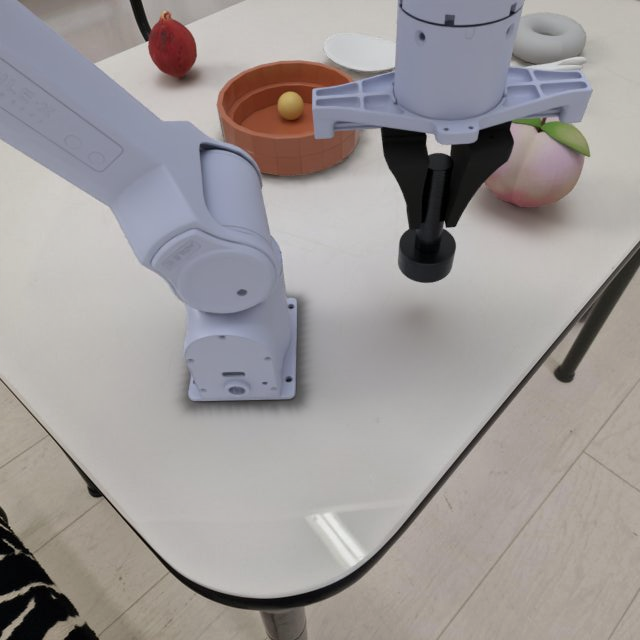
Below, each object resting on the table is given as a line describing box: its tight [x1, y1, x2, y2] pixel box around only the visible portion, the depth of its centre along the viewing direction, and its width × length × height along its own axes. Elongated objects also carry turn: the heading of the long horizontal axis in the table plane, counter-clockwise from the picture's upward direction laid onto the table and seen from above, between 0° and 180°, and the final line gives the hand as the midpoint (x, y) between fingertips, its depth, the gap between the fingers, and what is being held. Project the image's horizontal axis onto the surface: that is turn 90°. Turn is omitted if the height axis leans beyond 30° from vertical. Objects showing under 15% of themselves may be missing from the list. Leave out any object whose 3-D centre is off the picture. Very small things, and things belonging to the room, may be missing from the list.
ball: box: [278, 92, 304, 120], centre depth 59 cm, size 3×3×3 cm
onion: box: [147, 9, 198, 80], centre depth 64 cm, size 6×6×8 cm
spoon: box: [322, 31, 588, 73], centre depth 64 cm, size 9×32×4 cm, turn 69°
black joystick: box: [397, 152, 457, 284], centre depth 35 cm, size 4×4×9 cm
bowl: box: [216, 59, 361, 177], centre depth 56 cm, size 15×15×5 cm
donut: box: [512, 12, 587, 65], centre depth 67 cm, size 10×4×10 cm
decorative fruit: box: [483, 117, 591, 208], centre depth 47 cm, size 9×8×10 cm
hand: (430, 218), depth 35 cm, fingers closed on black joystick, 2 cm apart
